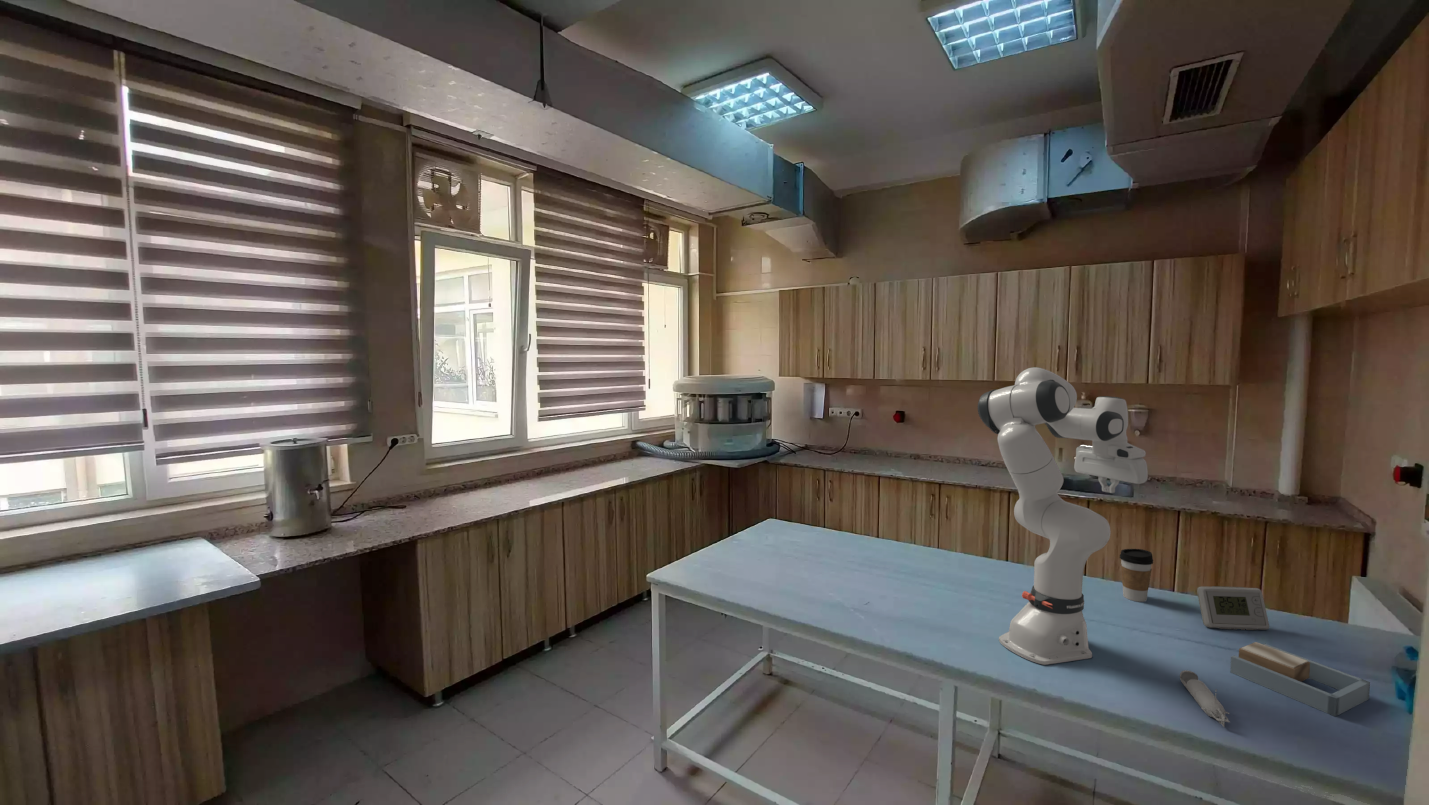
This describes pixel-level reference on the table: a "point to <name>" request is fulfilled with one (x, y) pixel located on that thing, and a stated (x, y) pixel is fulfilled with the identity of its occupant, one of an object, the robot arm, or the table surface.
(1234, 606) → the digital clock
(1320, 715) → the table surface
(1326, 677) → the bay
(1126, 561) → the coffee cup
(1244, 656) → the tan block
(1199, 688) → the torpedo
